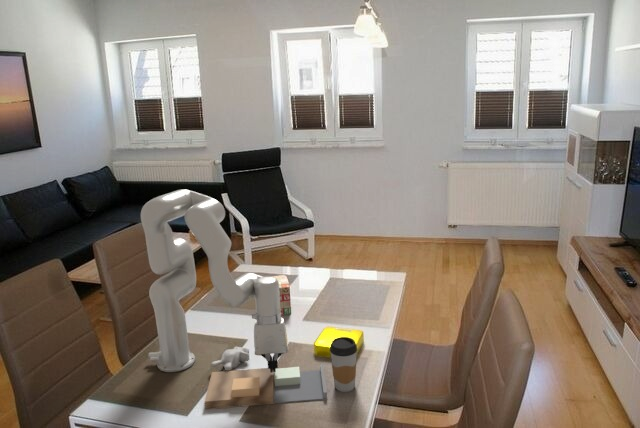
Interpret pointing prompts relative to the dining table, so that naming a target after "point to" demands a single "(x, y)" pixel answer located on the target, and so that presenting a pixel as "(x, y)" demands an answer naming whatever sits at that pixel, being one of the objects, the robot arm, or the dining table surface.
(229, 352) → the bunny figurine
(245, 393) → the light orange flat block
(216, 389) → the board
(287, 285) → the stack of blocks
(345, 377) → the coffee cup
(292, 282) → the dining table surface
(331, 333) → the element tile
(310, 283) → the dining table surface
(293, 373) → the sage tile
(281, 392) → the grey square tray
